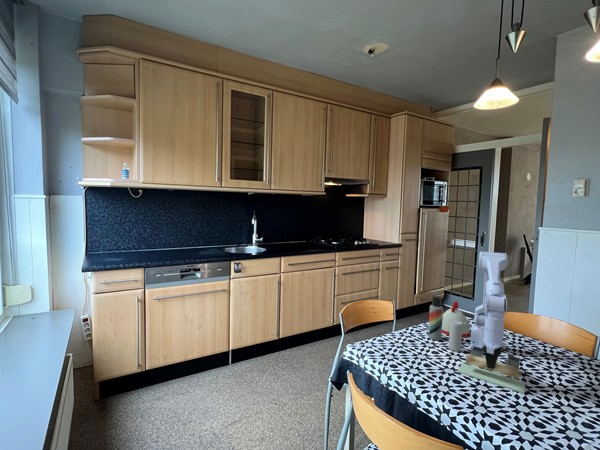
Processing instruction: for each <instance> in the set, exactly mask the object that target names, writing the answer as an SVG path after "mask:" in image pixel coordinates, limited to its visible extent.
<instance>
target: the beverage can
mask: <svg viewBox="0 0 600 450" xmlns="http://www.w3.org/2000/svg"><path fill="white" fill-rule="evenodd" d="M462 327H463V325H462V323H461V322H459V321H451V322H450V333H449V335H448V336H449V337H448V350H450V351H452V352H455V353H459V352H461V351H462V343H463V342H462V340H463V339H462V338H463V337H462Z"/></svg>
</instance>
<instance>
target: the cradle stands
mask: <svg viewBox="0 0 600 450" xmlns="http://www.w3.org/2000/svg"><path fill="white" fill-rule="evenodd" d="M470 354H471V355H474V356H478V357H482V358H484V357H483V356H484V352H483V350H482V348H480V347H476V346H473V347H472V349H470ZM520 362H521V358H520V357H517V356H514V355H510V354H508V357H507V360H506V365H510V366H513V367H517V368H519V369H520Z"/></svg>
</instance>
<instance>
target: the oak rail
mask: <svg viewBox="0 0 600 450" xmlns="http://www.w3.org/2000/svg"><path fill="white" fill-rule="evenodd" d="M465 364H467V365H471V366H474V367H477V368H481V369H484V370H487V371H491V372H494V373H497V374H500V375H504V376H507V377H510V378H514V379H519V377H520V376H519V375H520V367H519V368H517V367H513V366H510V365H507V363H503V362H499V361H497V362H496V365H495V368H494V369H491V368H488V367H487V364H486V358H485V357H483V358H482V357H478V356H474V355H471V353H467V354H466V356H465Z"/></svg>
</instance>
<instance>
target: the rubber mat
mask: <svg viewBox="0 0 600 450" xmlns="http://www.w3.org/2000/svg"><path fill="white" fill-rule="evenodd" d="M457 373H458V374H462V375H463V376H464V375H465V376H468V377H470V378H473V379H474V378H475V379H476V380H477V379H478V380H479V381H483V382H487V383H490V384H493V385H496V386H500V387H501V388H505V389H508V390H511V391H515V392H518V393H519V394H520V393H521V394H525V392H526V391H525V390H526V381H523V380H520V379H518V378H514V377H511V376H508V375H504V374H501V373H498V372H494V371H491V370H488V369H484V368H481V367H477V366H474V365H471V364H467V363H464V362H462V363H461V365H460V366H459V367H458V370H457Z"/></svg>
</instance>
